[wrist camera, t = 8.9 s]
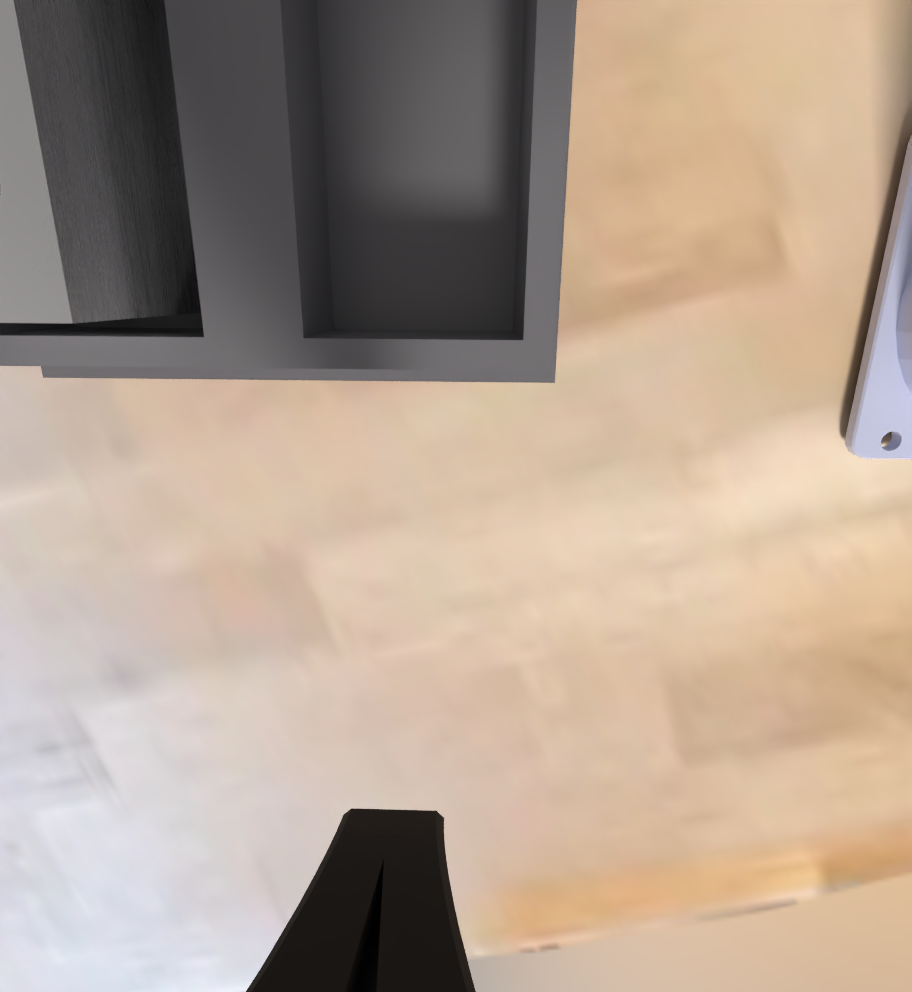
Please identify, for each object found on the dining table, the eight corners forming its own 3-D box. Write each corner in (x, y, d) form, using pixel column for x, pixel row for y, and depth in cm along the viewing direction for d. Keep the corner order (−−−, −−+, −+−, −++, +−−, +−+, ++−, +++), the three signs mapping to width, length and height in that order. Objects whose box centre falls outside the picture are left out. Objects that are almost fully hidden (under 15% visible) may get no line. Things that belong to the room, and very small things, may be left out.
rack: (582, -213, 13) (631, -429, 9) (549, 377, 16) (574, 403, 13) (-44, -211, 13) (-259, -422, 9) (67, 372, 17) (-51, 396, 13)
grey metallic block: (176, -99, 13) (-64, -422, 7) (221, 311, 15) (72, 323, 9) (31, -98, 13) (-328, -419, 7) (100, 310, 15) (-122, 321, 9)
